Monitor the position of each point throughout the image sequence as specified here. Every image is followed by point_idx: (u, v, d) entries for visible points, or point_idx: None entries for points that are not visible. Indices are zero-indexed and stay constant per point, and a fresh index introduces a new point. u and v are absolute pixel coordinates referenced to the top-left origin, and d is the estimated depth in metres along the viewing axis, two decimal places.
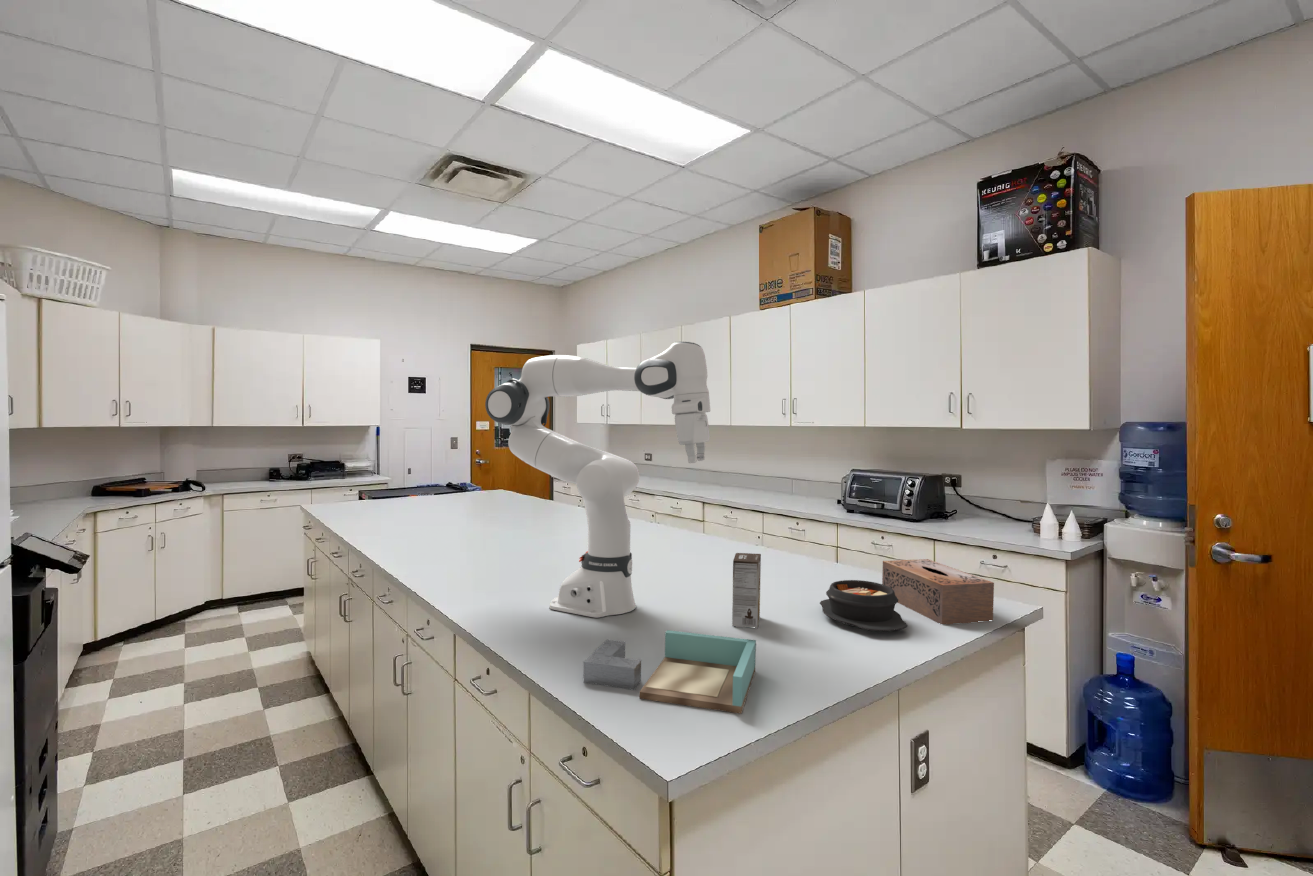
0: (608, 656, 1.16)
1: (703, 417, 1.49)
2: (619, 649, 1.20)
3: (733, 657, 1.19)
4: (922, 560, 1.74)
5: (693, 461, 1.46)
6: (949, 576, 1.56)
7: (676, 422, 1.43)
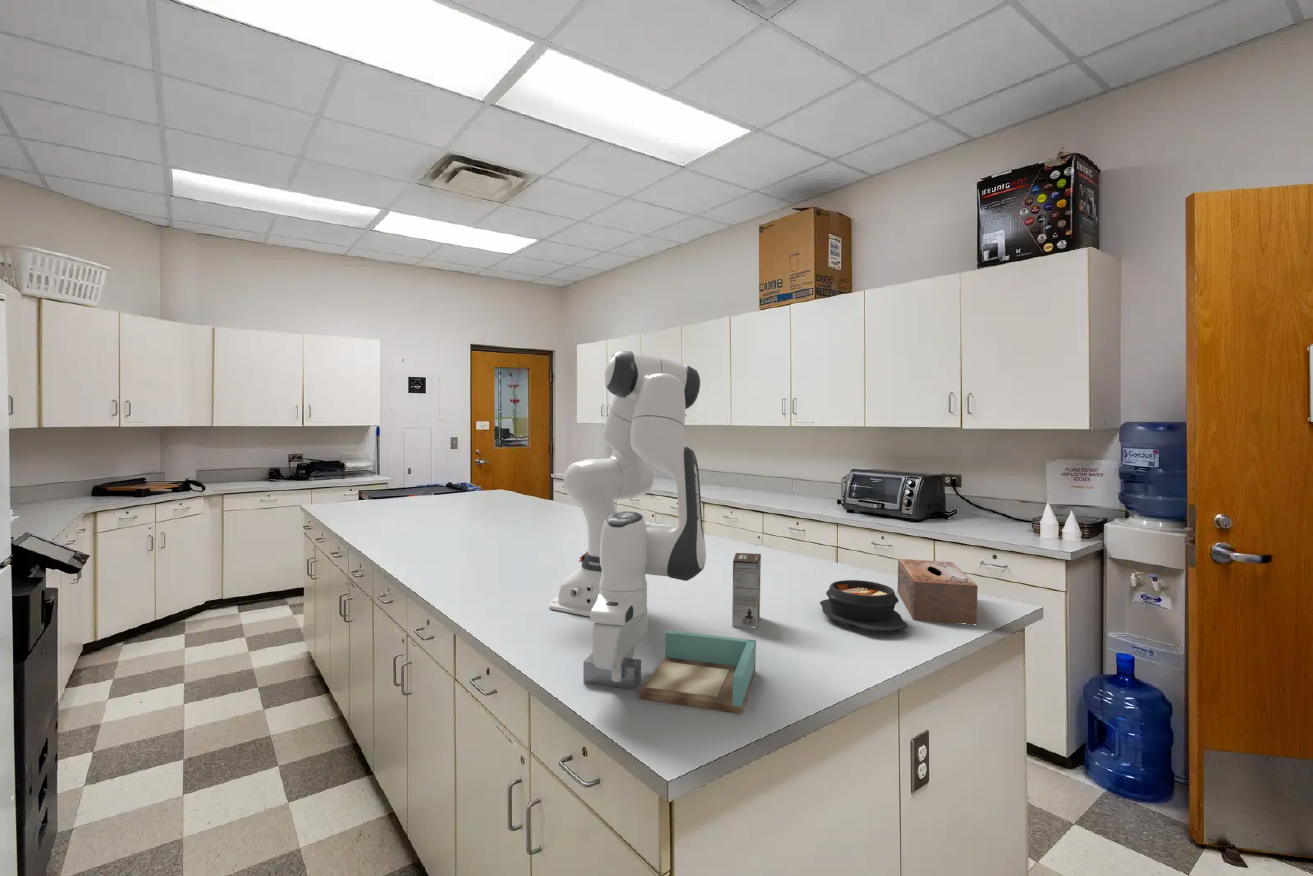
0: None
1: (635, 620, 1.11)
2: None
3: (733, 657, 1.19)
4: (943, 562, 1.72)
5: (618, 680, 1.10)
6: (939, 576, 1.56)
7: (593, 637, 1.04)
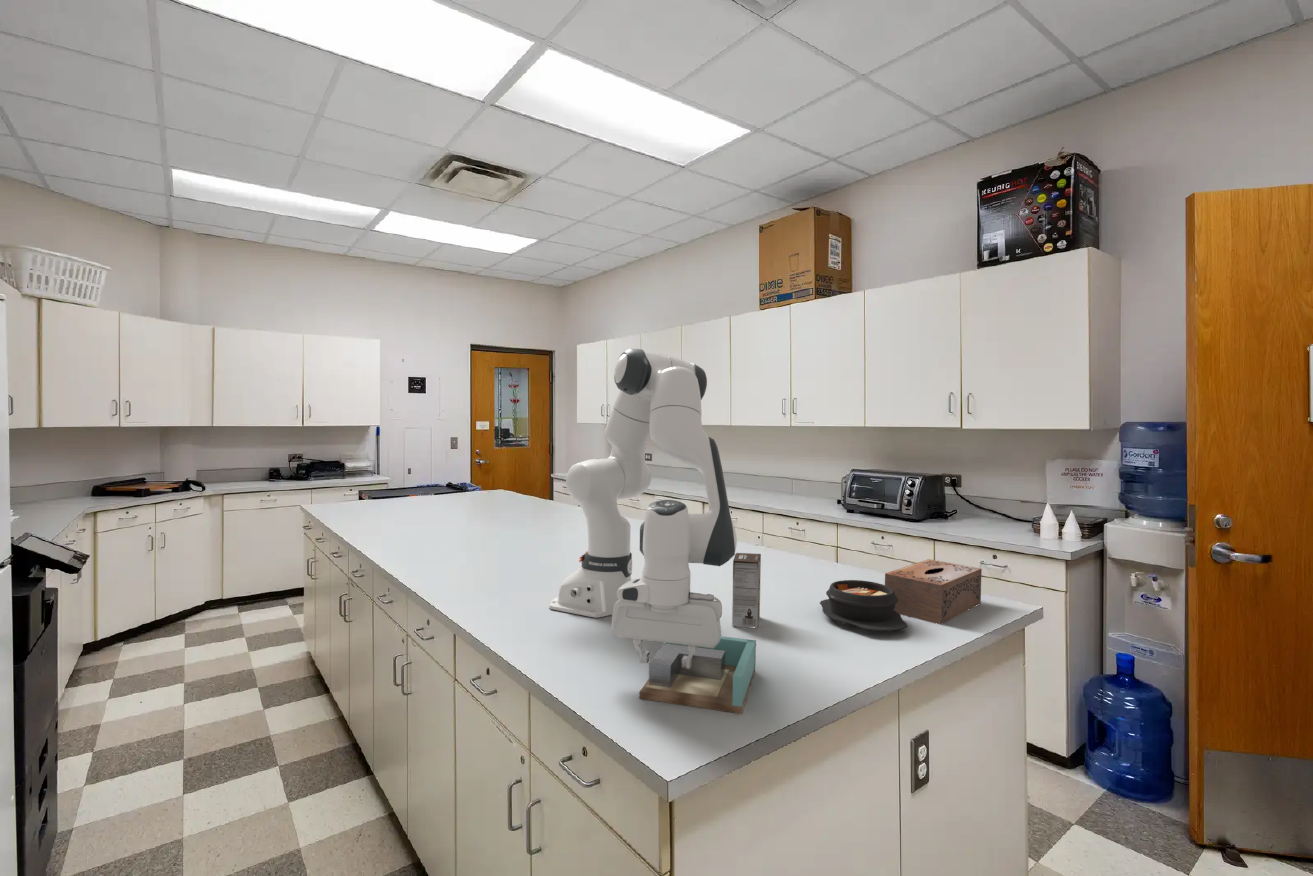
0: (678, 652, 1.15)
1: (655, 610, 1.09)
2: (702, 658, 1.13)
3: (733, 657, 1.19)
4: (969, 567, 1.66)
5: None
6: (925, 574, 1.58)
7: None
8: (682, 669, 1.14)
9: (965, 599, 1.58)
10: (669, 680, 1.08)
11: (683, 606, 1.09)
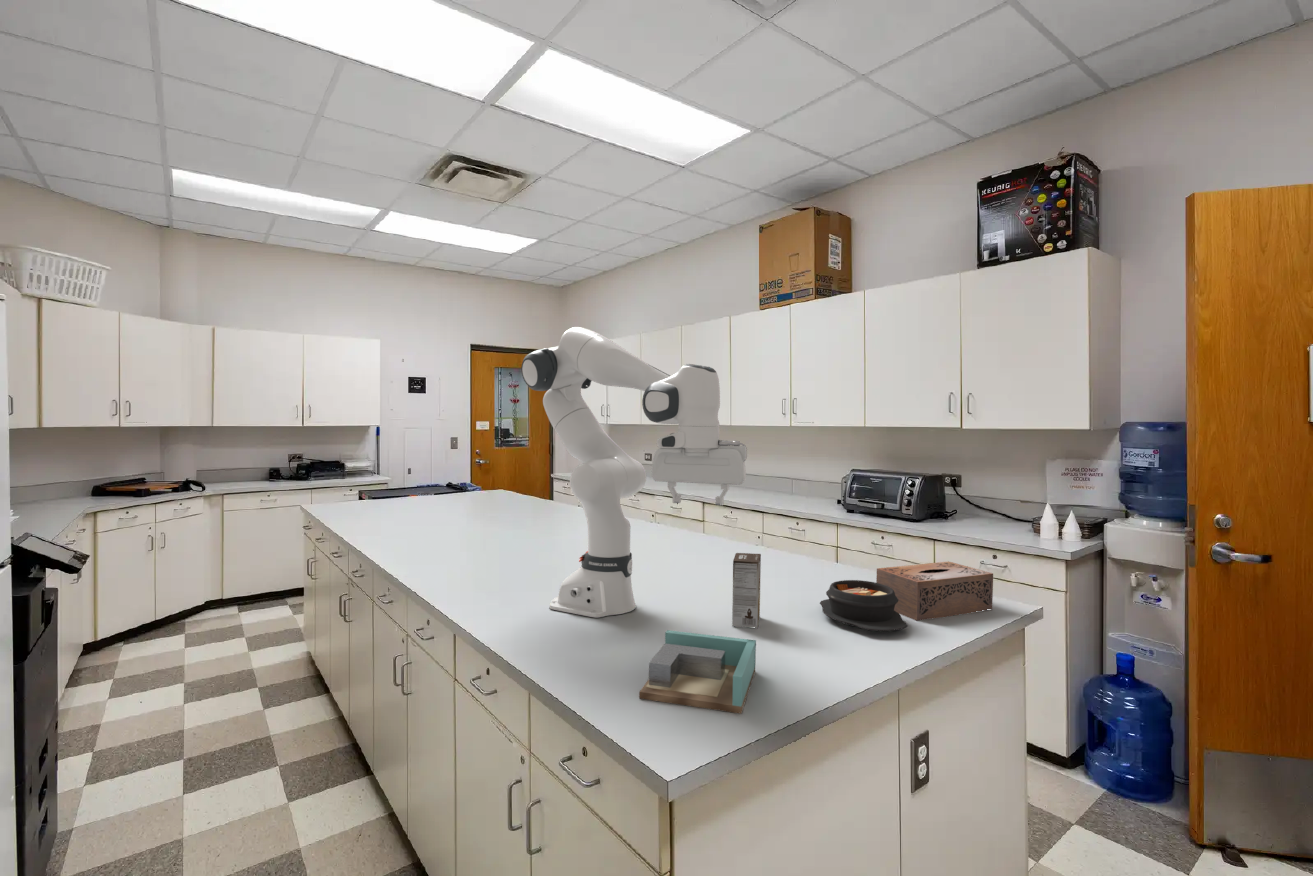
0: (678, 652, 1.15)
1: (689, 454, 1.28)
2: (702, 658, 1.13)
3: (733, 657, 1.19)
4: (980, 571, 1.62)
5: None
6: (918, 572, 1.60)
7: None
8: (682, 669, 1.14)
9: (961, 601, 1.56)
10: (669, 680, 1.08)
11: (714, 450, 1.28)
